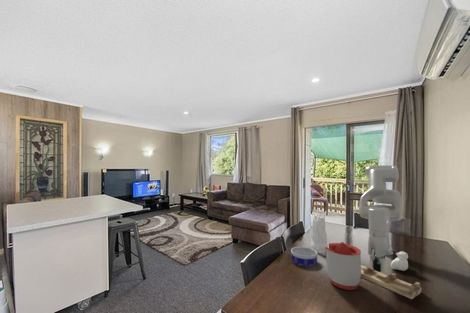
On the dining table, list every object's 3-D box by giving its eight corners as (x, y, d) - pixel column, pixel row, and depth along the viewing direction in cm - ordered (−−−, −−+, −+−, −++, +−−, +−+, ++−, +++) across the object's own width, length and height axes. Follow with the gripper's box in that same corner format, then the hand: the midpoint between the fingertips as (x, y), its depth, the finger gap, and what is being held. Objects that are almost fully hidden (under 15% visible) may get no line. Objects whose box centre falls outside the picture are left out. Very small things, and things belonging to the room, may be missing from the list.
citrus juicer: (327, 271, 114) (326, 234, 116) (364, 282, 103) (363, 241, 105) (318, 283, 102) (317, 242, 103) (359, 297, 91) (357, 250, 92)
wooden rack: (355, 266, 121) (355, 258, 121) (421, 292, 95) (421, 282, 95) (345, 270, 116) (344, 262, 116) (411, 299, 90) (411, 288, 90)
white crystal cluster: (325, 255, 137) (324, 216, 138) (309, 251, 143) (308, 214, 145) (329, 249, 145) (328, 213, 147) (313, 246, 152) (313, 211, 153)
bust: (394, 275, 114) (408, 264, 109) (382, 262, 120) (395, 251, 114) (407, 271, 119) (421, 260, 114) (395, 258, 125) (407, 247, 119)
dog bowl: (294, 254, 138) (294, 244, 139) (319, 259, 131) (319, 249, 131) (288, 263, 125) (287, 252, 126) (314, 269, 118) (314, 258, 118)
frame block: (373, 267, 110) (372, 254, 110) (388, 272, 103) (388, 259, 104) (370, 268, 108) (369, 255, 108) (385, 274, 102) (384, 260, 102)
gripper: (377, 228, 114) (379, 263, 113) (361, 233, 106) (362, 270, 105) (393, 232, 108) (395, 269, 107) (377, 237, 99) (378, 277, 98)
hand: (379, 269), depth 106 cm, fingers closed on frame block, 3 cm apart
